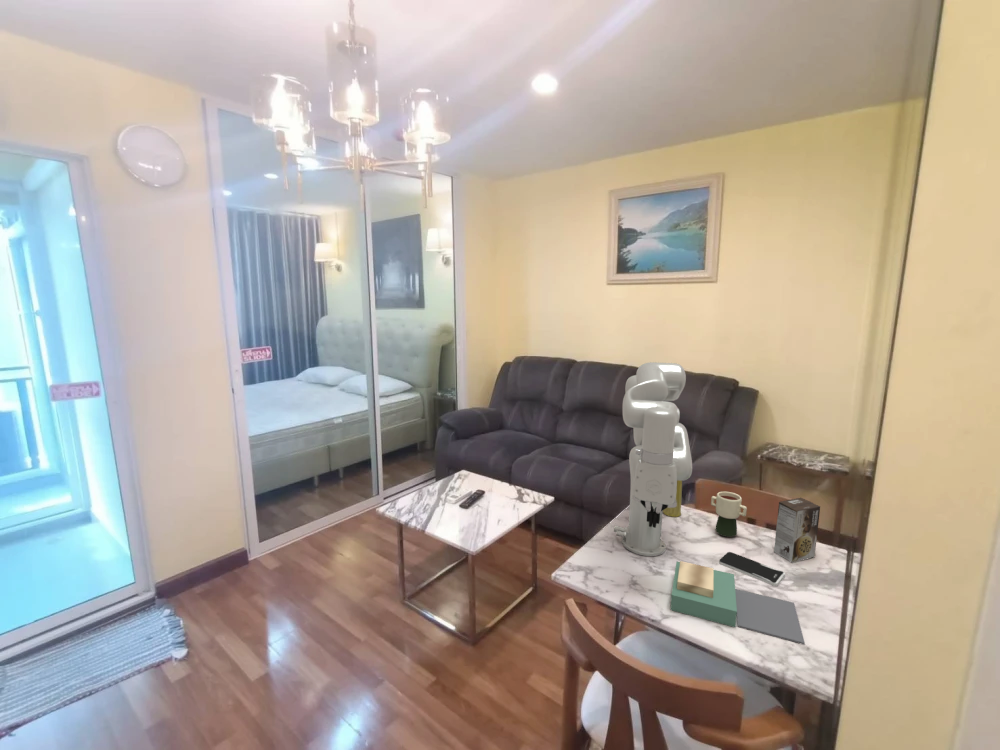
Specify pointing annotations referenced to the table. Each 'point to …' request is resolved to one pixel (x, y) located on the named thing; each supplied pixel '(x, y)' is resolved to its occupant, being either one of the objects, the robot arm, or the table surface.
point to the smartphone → (752, 568)
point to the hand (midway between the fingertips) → (652, 524)
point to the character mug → (728, 512)
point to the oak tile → (695, 579)
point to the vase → (677, 510)
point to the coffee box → (796, 529)
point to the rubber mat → (768, 616)
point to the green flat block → (708, 600)
